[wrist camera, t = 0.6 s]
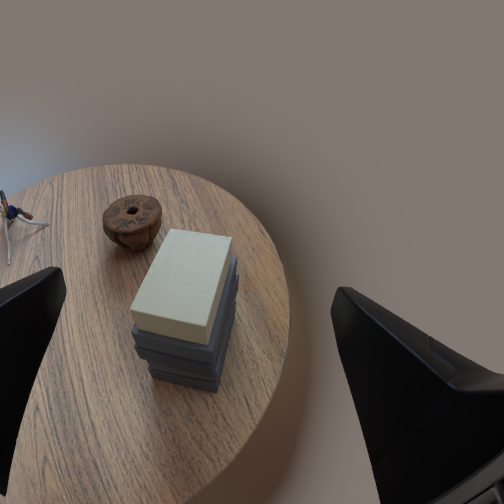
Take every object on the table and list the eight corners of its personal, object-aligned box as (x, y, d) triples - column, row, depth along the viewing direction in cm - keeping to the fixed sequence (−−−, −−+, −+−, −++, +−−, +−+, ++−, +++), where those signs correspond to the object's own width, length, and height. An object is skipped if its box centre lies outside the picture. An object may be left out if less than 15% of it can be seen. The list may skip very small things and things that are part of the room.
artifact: (106, 232, 37) (97, 202, 34) (157, 217, 40) (152, 187, 37) (114, 270, 33) (103, 239, 29) (173, 252, 36) (168, 220, 32)
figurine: (36, 235, 45) (70, 259, 35) (-3, 246, 38) (15, 277, 28) (31, 181, 42) (63, 183, 31) (-10, 189, 35) (2, 194, 24)
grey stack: (218, 395, 24) (215, 357, 18) (150, 379, 24) (125, 335, 18) (236, 311, 30) (240, 255, 25) (178, 300, 31) (168, 244, 25)
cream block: (207, 345, 19) (206, 326, 17) (137, 329, 19) (128, 309, 17) (231, 259, 24) (232, 237, 23) (173, 249, 25) (170, 227, 23)
